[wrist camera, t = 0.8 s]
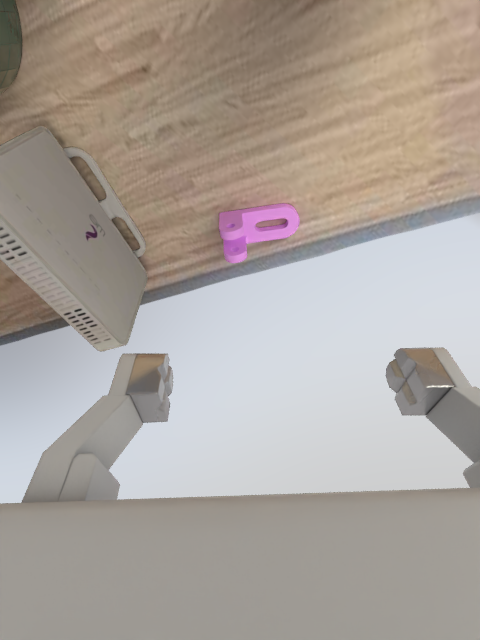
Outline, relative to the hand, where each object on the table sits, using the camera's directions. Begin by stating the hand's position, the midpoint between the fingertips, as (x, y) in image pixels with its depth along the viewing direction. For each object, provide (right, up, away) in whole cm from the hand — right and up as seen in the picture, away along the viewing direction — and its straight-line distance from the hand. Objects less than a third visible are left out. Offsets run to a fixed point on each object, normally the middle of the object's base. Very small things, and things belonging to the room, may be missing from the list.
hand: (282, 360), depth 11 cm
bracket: (+2, +18, +41) cm, 45 cm away
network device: (-25, +19, +38) cm, 50 cm away
